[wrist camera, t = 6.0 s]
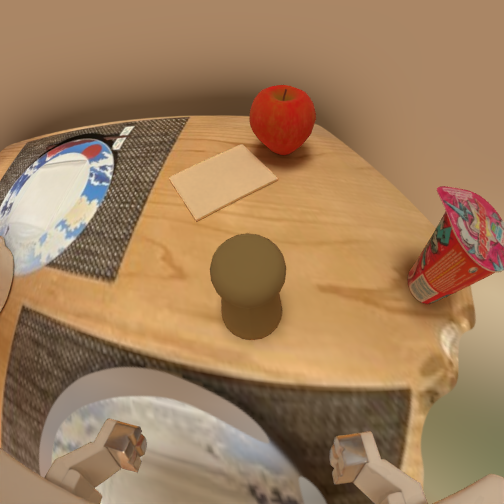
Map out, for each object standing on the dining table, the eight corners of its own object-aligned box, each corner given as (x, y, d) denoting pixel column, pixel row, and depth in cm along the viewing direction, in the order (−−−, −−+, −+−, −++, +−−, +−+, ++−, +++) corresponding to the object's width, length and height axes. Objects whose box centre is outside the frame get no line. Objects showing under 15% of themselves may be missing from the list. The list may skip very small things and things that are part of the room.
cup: (450, 262, 29) (503, 207, 18) (449, 324, 25) (517, 281, 14) (391, 242, 30) (435, 173, 20) (384, 306, 27) (444, 250, 16)
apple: (248, 169, 37) (244, 102, 27) (254, 134, 41) (252, 74, 31) (310, 174, 36) (321, 107, 27) (308, 137, 40) (315, 78, 31)
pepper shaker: (233, 276, 29) (219, 211, 19) (288, 291, 28) (303, 231, 18) (213, 329, 26) (185, 287, 17) (272, 347, 25) (280, 316, 16)
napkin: (196, 221, 33) (196, 219, 32) (169, 179, 36) (168, 177, 36) (278, 180, 35) (278, 178, 35) (242, 145, 39) (242, 143, 39)
